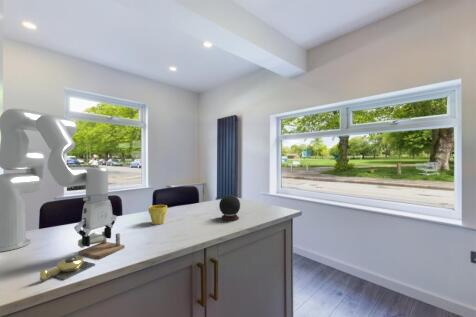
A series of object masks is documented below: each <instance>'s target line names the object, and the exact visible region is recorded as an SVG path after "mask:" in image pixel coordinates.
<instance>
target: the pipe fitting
mask: <svg viewBox="0 0 476 317" xmlns="http://www.w3.org/2000/svg"><path fill="white" fill-rule="evenodd" d="M88 236H90V246H92V245H96V244H99V243H102V242H103V240H105V239H106V240H107V238H106V237H105V236H103V234H102V233H100V232H98V231H94V232H92V233H89V235H88ZM77 246H78V247H80V249H85V248H87V246H83V244H82V238H80V239H78V240H77Z"/></svg>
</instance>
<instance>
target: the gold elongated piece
mask: <svg viewBox="0 0 476 317" xmlns="http://www.w3.org/2000/svg"><path fill="white" fill-rule="evenodd" d="M83 261H84V256H82V255H77V256H69V257H66V258H63V259H61V260H59V261H58V262H57V263H56V266H55V267H53V268H51V269H42V270H40V271H39V281H44V280H47V279H48V278H49V277H52V275H54V274H57V273H59V272H60V273H65V272H70V271H74V270H77V269H79V268H80V267H82V266H83Z"/></svg>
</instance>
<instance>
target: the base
mask: <svg viewBox="0 0 476 317" xmlns="http://www.w3.org/2000/svg"><path fill="white" fill-rule="evenodd" d="M95 266H96V263H93V262H90V261H84V260H83V266H82V267H80V268H79V269H77V270H74V271H70V272H65V273H60V272H59V273H57V274H54V275H52V276H51V277H52V278H56V279H58V280H62V281H65V280H67V279H70V278H71V277H73V276H77V275H78V274H80V273H82V272H84V271H86V270H88V269H90V268H92V267H95Z"/></svg>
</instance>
